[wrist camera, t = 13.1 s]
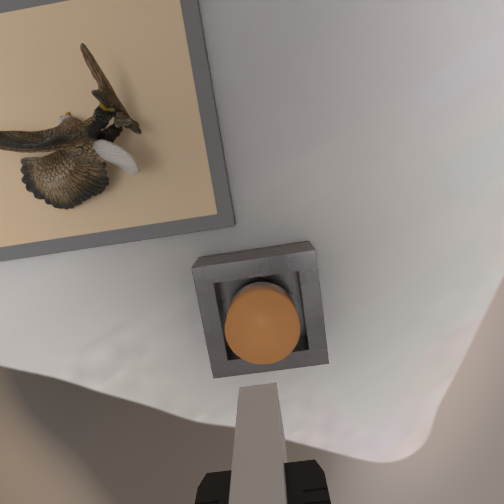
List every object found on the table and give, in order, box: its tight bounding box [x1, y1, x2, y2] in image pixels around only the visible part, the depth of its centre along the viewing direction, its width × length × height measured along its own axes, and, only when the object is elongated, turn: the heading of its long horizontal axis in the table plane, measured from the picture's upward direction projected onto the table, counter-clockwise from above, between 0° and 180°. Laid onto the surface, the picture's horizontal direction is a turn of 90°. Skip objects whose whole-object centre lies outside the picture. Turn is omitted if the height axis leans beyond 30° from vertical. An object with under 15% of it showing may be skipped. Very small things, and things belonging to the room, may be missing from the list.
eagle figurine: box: [0, 43, 142, 210], centre depth 21 cm, size 8×7×9 cm
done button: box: [225, 282, 300, 364], centre depth 23 cm, size 5×5×2 cm
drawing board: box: [0, 0, 235, 261], centre depth 24 cm, size 18×16×1 cm
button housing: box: [192, 241, 329, 378], centre depth 26 cm, size 8×8×3 cm
